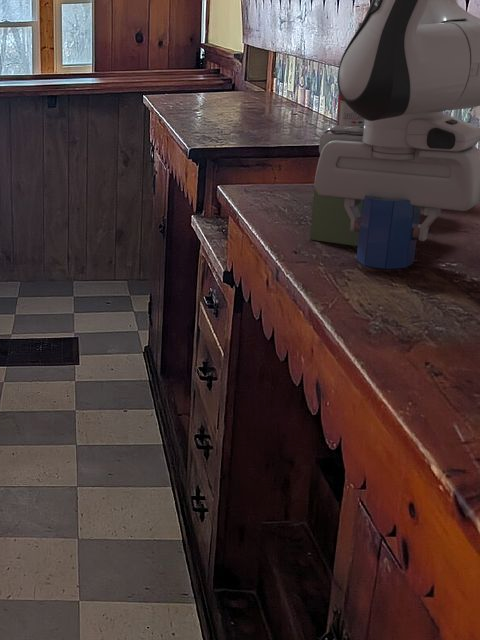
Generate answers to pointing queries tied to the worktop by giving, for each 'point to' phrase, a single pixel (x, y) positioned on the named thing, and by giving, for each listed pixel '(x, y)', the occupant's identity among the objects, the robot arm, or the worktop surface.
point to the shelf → (332, 221)
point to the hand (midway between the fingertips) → (387, 235)
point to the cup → (387, 233)
